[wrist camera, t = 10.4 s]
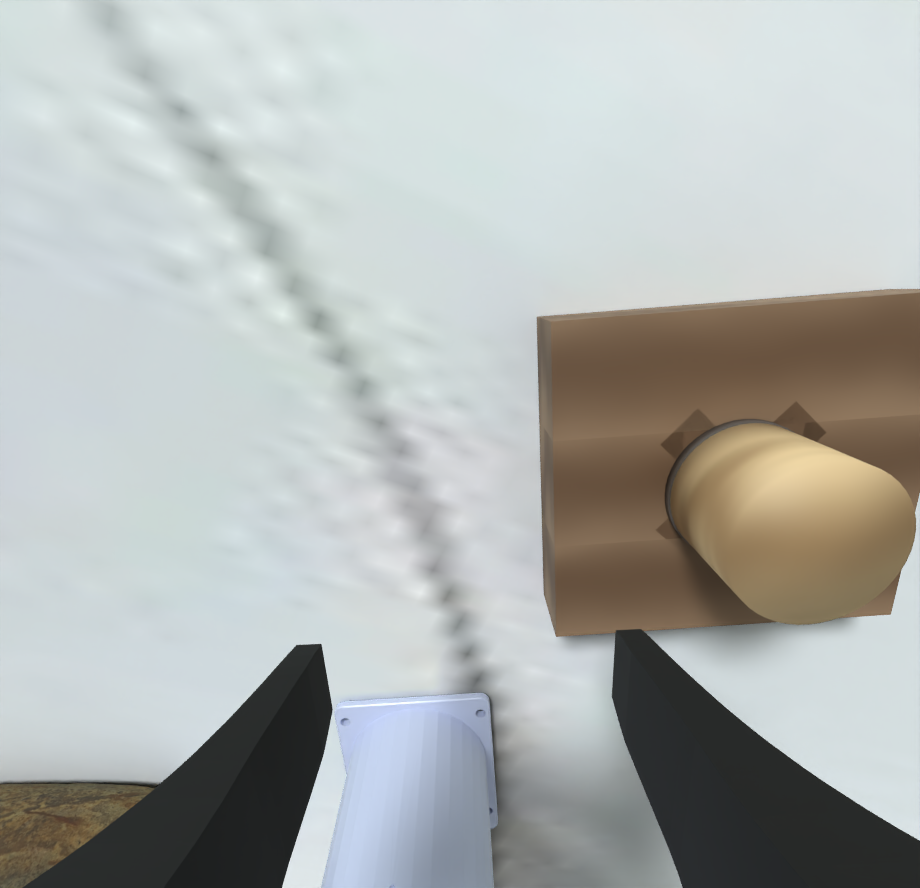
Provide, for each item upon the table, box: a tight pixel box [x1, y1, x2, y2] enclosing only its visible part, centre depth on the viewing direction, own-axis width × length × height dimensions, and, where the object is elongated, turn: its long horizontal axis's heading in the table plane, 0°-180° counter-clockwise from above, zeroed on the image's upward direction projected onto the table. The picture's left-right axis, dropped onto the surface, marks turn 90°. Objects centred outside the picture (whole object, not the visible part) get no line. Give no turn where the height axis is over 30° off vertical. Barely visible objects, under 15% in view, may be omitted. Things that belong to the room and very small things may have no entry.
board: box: [537, 289, 920, 637], centre depth 20 cm, size 13×14×3 cm
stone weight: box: [0, 783, 155, 888], centre depth 24 cm, size 15×7×7 cm, turn 93°
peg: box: [664, 419, 916, 625], centre depth 17 cm, size 6×6×7 cm
